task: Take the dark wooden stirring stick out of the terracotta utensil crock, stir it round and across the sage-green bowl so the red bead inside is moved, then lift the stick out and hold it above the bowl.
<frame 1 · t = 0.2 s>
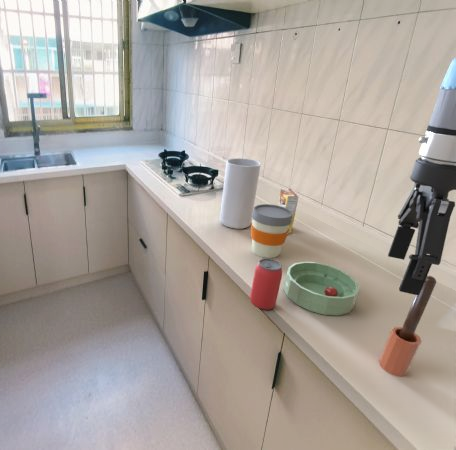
hand: (401, 273, 63), 22 cm above the worktop, tool pointing down, fingers open, 13 cm apart
crock: (391, 368, 70), on the worktop
bowl: (316, 296, 92), on the worktop
stirring stick: (392, 366, 70), point 1 cm above the worktop, touching crock
reusable coffee cup: (265, 251, 116), on the worktop
bead: (331, 292, 90), point 2 cm above the worktop, touching bowl
cylinder vase: (234, 223, 137), on the worktop
beer can: (262, 303, 89), on the worktop
candy box: (282, 229, 133), on the worktop
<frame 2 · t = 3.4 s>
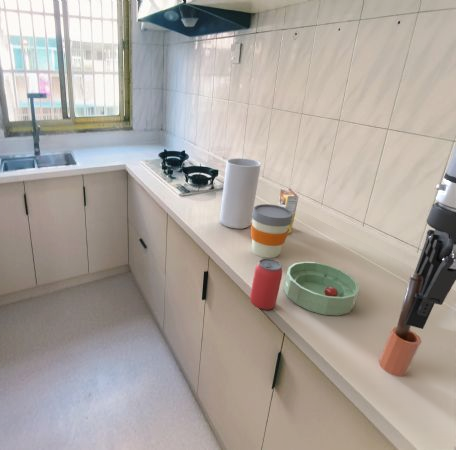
hand: (412, 321, 65), 12 cm above the worktop, tool pointing down, fingers closed on stirring stick, 2 cm apart
stirring stick: (392, 366, 70), point 1 cm above the worktop, tilted 5°, touching gripper
everything else where it was.
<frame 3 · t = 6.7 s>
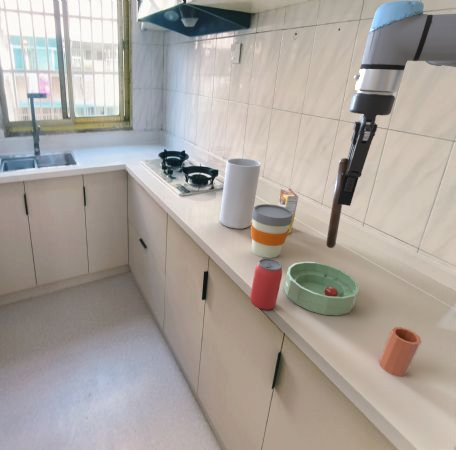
hand: (343, 202, 78), 29 cm above the worktop, tool pointing down, fingers closed on stirring stick, 2 cm apart
stirring stick: (330, 247, 83), point 17 cm above the worktop, tilted 5°, touching gripper
everything else where it was.
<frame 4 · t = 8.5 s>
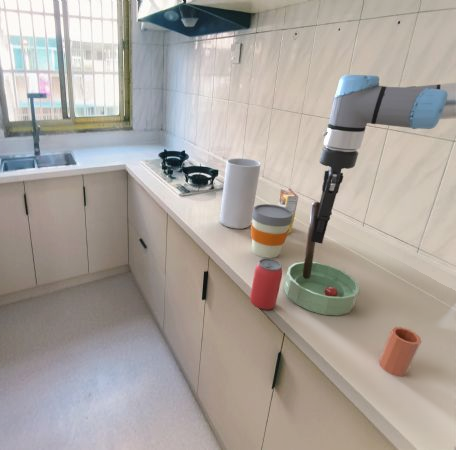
hand: (316, 239, 87), 17 cm above the worktop, tool pointing down, fingers closed on stirring stick, 2 cm apart
stirring stick: (306, 278, 92), point 5 cm above the worktop, tilted 5°, touching gripper
everything else where it was.
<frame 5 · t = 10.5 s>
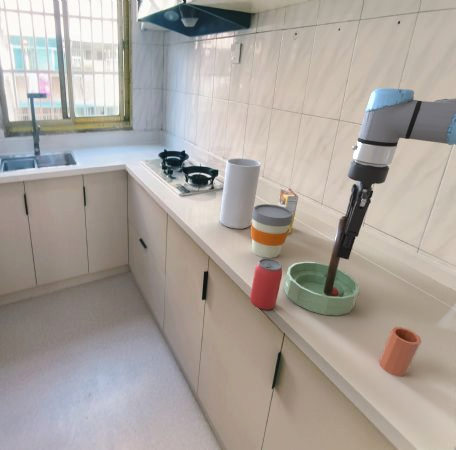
hand: (342, 254, 85), 14 cm above the worktop, tool pointing down, fingers closed on stirring stick, 2 cm apart
stirring stick: (326, 294, 89), point 2 cm above the worktop, touching bead, gripper
bead: (331, 292, 91), point 2 cm above the worktop, tilted 14°, touching bowl, stirring stick
everything else where it was.
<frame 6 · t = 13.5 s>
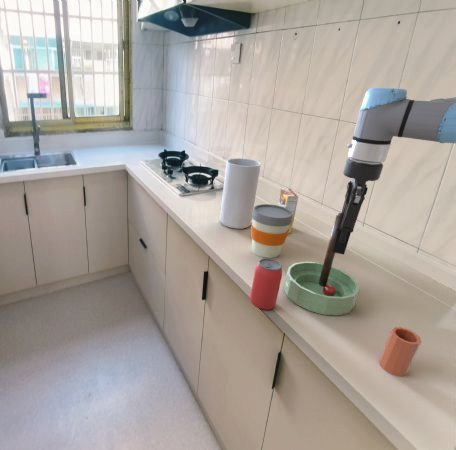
hand: (338, 250, 87), 14 cm above the worktop, tool pointing down, fingers closed on stirring stick, 2 cm apart
stirring stick: (321, 285, 93), point 3 cm above the worktop, touching bead, gripper
bead: (329, 290, 91), point 2 cm above the worktop, tilted 22°, touching bowl, stirring stick
everything else where it was.
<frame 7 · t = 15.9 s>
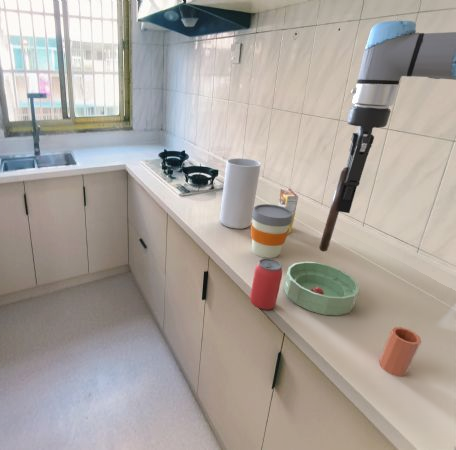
hand: (342, 209, 81), 26 cm above the worktop, tool pointing down, fingers closed on stirring stick, 2 cm apart
stirring stick: (322, 251, 87), point 14 cm above the worktop, touching gripper
bead: (317, 293, 90), point 2 cm above the worktop, tilted 48°, touching bowl
everything else where it was.
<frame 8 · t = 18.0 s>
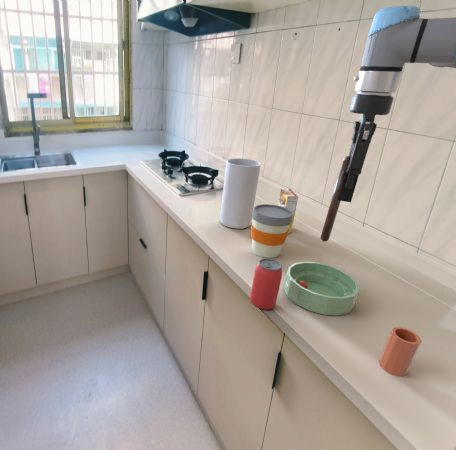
hand: (344, 199, 81), 28 cm above the worktop, tool pointing down, fingers closed on stirring stick, 2 cm apart
stirring stick: (323, 241, 86), point 17 cm above the worktop, touching gripper
bead: (301, 286, 93), point 2 cm above the worktop, tilted 126°, touching bowl
everything else where it was.
at the end: bead moved 7.4 cm from its start; bead inside the target area in the bowl (4.5 cm from its centre), point 2.4 cm above the bowl's base; the gripper is holding stirring stick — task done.
